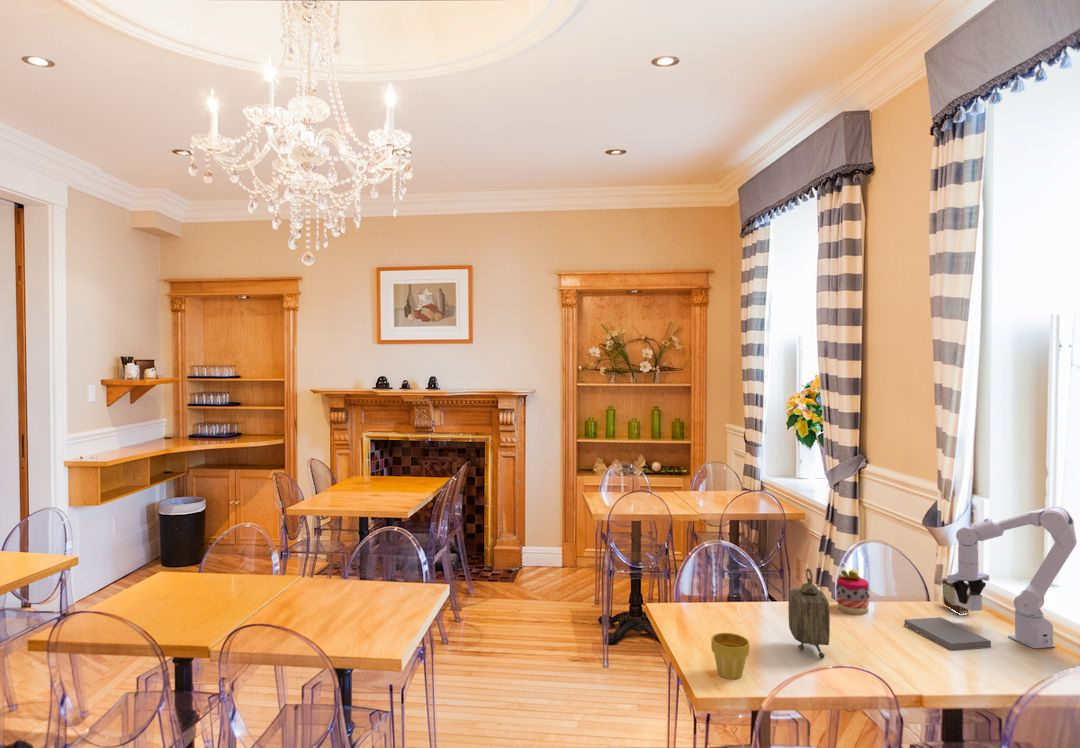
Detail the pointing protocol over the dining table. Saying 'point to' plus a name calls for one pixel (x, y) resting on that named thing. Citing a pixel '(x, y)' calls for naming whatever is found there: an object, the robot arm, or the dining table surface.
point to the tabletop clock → (809, 615)
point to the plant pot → (730, 654)
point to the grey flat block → (948, 633)
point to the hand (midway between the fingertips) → (968, 602)
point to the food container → (951, 597)
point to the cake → (852, 593)
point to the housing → (970, 601)
